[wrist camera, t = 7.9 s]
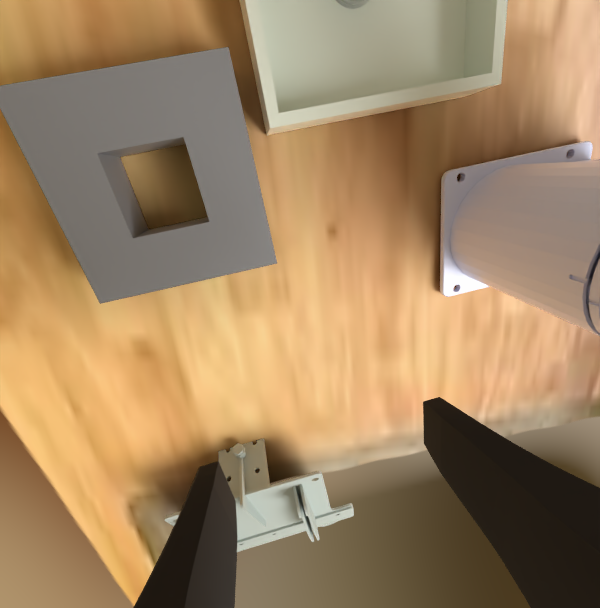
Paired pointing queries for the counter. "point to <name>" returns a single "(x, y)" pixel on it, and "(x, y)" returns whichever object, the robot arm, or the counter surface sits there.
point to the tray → (369, 56)
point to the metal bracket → (273, 499)
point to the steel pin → (352, 3)
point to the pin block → (136, 139)
